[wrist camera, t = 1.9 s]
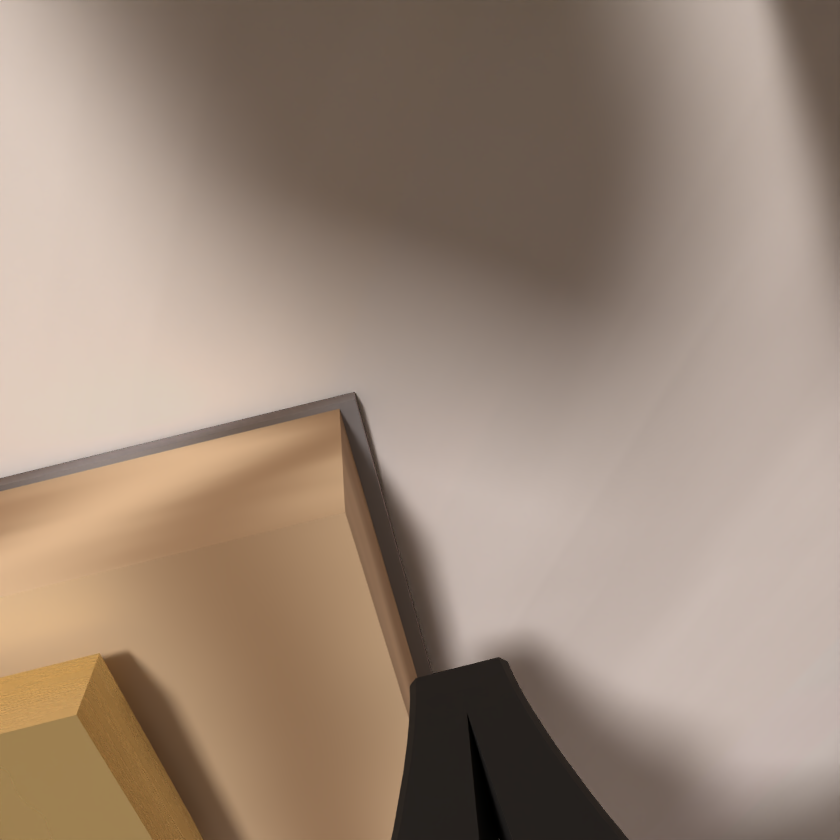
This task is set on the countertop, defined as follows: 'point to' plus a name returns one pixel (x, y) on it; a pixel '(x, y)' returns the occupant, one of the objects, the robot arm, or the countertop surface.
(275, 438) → the body
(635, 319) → the countertop surface
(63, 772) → the lever cap
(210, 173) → the countertop surface
